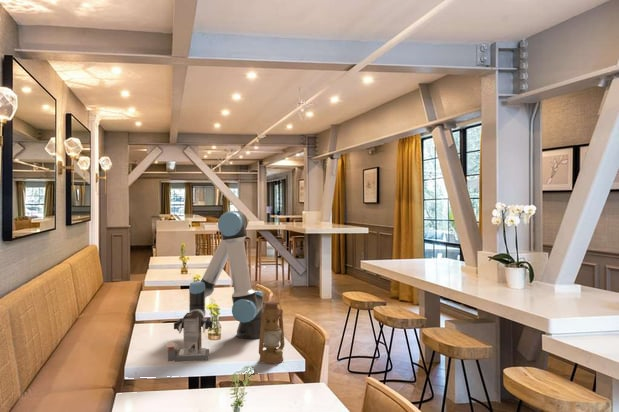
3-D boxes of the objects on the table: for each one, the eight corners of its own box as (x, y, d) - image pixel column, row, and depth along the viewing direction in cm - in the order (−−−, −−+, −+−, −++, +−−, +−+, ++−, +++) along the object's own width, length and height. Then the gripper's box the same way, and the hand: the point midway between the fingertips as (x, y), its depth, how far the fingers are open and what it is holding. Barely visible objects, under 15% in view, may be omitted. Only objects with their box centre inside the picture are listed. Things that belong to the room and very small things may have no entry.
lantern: (274, 367, 209) (274, 295, 209) (252, 364, 213) (252, 293, 213) (289, 357, 223) (289, 289, 223) (268, 354, 227) (268, 287, 227)
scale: (209, 353, 228) (209, 336, 228) (208, 360, 218) (208, 342, 218) (168, 355, 225) (168, 338, 225) (165, 362, 216) (165, 344, 215)
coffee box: (187, 348, 226) (187, 312, 226) (202, 348, 227) (201, 312, 227) (183, 354, 217) (182, 317, 217) (198, 354, 218) (197, 316, 218)
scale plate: (205, 349, 227) (205, 347, 227) (204, 355, 218) (204, 353, 218) (180, 350, 226) (180, 348, 226) (178, 356, 217) (178, 354, 217)
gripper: (219, 325, 242) (217, 337, 219) (171, 327, 238) (165, 339, 216) (219, 309, 241) (217, 320, 219) (171, 311, 238) (165, 322, 216)
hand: (191, 329), depth 218 cm, fingers open, 9 cm apart
